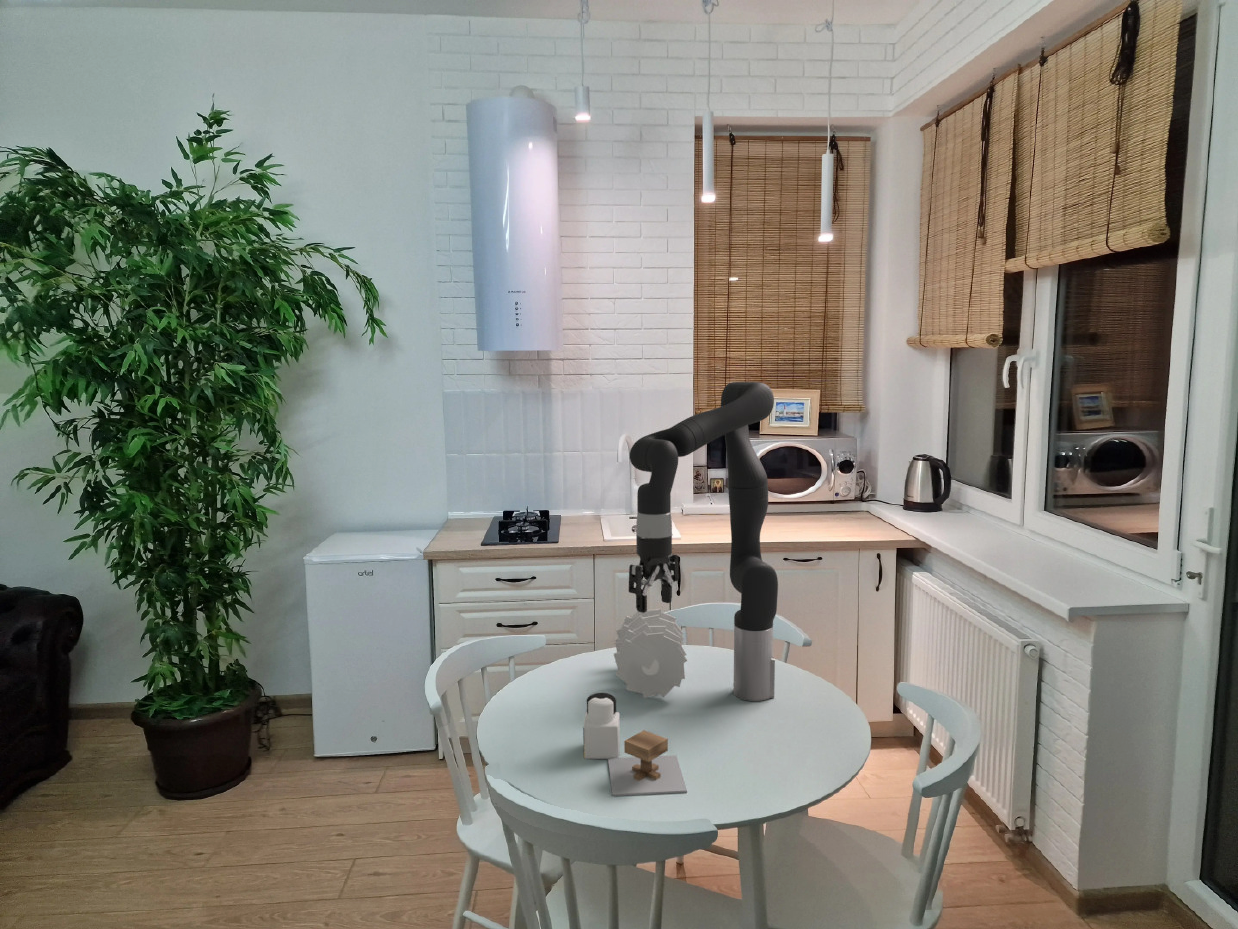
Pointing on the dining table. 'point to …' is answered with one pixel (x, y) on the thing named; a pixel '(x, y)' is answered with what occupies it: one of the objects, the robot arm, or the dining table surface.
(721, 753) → the dining table surface
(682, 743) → the dining table surface
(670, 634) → the spiral staircase
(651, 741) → the wooden pedestal stool
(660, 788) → the mat
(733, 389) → the robot arm
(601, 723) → the blocky figurine
